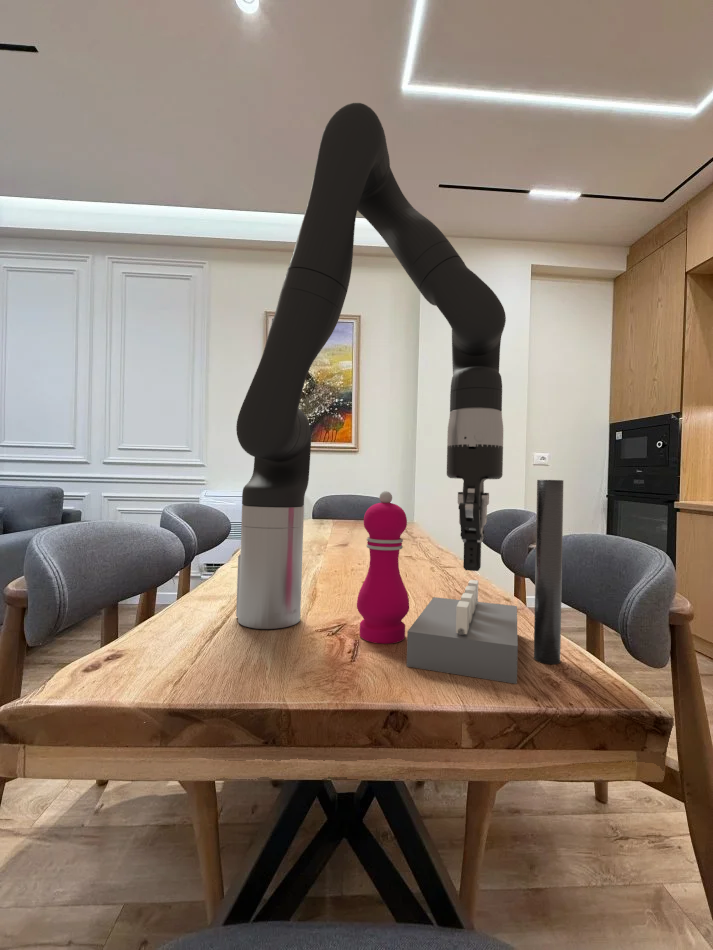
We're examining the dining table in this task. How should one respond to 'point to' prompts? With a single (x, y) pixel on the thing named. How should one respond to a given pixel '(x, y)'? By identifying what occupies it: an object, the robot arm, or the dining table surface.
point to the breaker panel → (465, 641)
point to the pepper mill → (383, 575)
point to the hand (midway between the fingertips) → (472, 569)
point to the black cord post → (548, 571)
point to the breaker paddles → (466, 607)
